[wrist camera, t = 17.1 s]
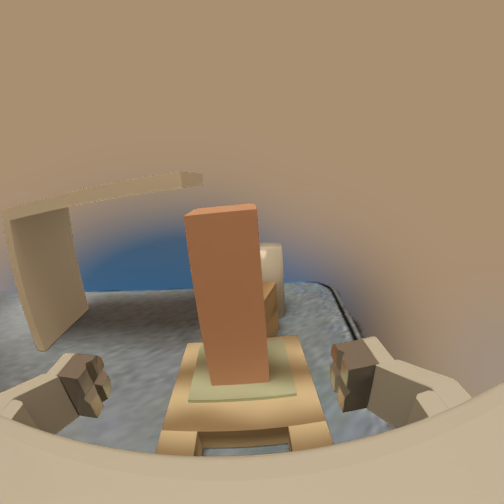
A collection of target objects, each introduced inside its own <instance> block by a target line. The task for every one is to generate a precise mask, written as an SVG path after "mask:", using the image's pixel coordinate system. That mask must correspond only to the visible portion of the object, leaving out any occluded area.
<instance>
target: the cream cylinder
mask: <svg viewBox="0 0 504 504" xmlns="http://www.w3.org/2000/svg"><path fill="white" fill-rule="evenodd" d="M260 256H261V269H262V282H276V287H277V305H278V319H281V318H282V317H283V316H284V315H285V299H284V279H283V259H282V245H280V244H278V243H260Z"/></svg>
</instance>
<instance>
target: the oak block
mask: <svg viewBox="0 0 504 504" xmlns="http://www.w3.org/2000/svg"><path fill="white" fill-rule="evenodd" d="M263 295H264V308H265V322H266V336H267V338H271V337H275V336H276V334H277V332H278V330H279V325H278V305H277V287H276V282H263Z"/></svg>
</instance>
